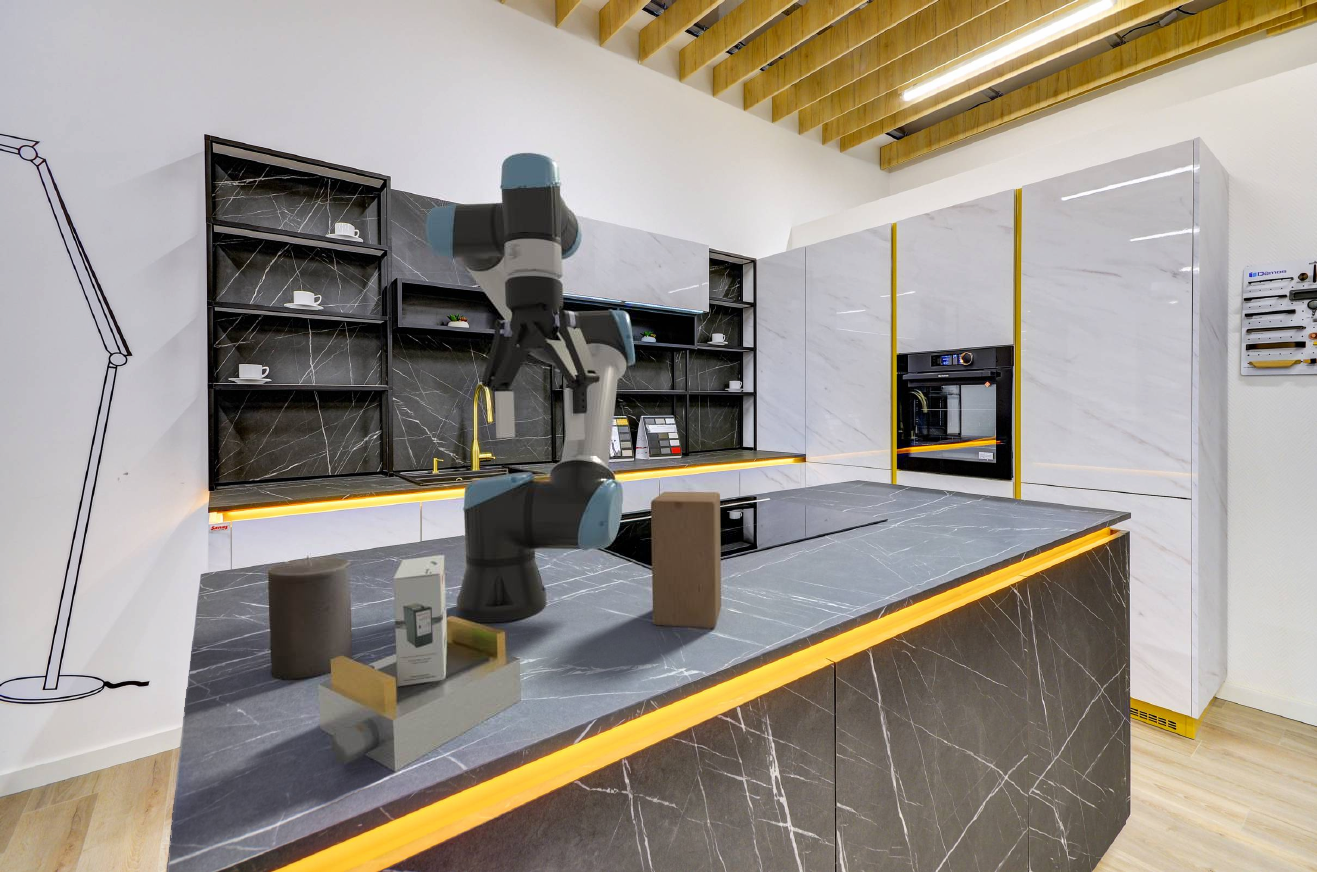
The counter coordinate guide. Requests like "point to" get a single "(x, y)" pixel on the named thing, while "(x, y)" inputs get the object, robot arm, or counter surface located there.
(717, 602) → the wooden block
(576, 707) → the counter surface
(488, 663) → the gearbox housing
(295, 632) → the pillar candle
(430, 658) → the ink box
